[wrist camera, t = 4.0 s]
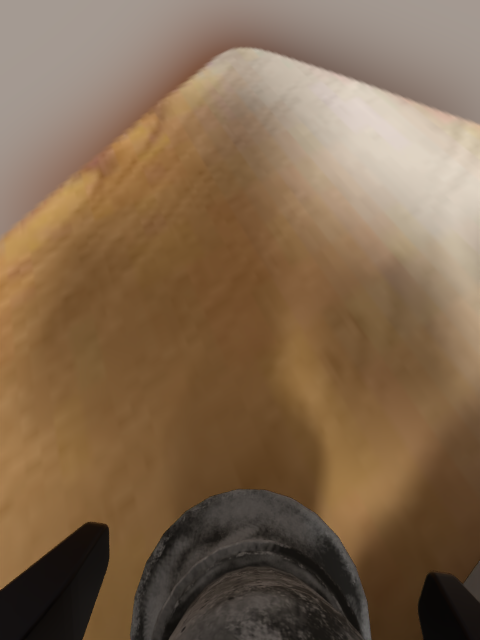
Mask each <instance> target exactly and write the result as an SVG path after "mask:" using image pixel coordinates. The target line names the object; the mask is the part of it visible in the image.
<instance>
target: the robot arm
mask: <svg viewBox="0 0 480 640" xmlns="http://www.w3.org/2000/svg"><path fill="white" fill-rule="evenodd" d="M108 562H109V528H108V525H106V524H103V523H96V522H87V523H85V524H84V525H82V526H81V527H80V528H78V529H77V530H76V531H75V532H73V533H72V534H71V535H70V536H68V537H67V538H66V539H65V540H63V541H62V542H61V543H59V544H58V545H57V546H56V547H54V548H53V549H52V550H51V551H49V552H48V553H47V554H46V555H44V556H43V557H42V558H40V559H39V560H38V561H37V562H35V563H34V564H33V565H32V566H30V567H29V568H28V569H27V570H25V571H24V572H23V573H21V574H20V575H19V576H18V577H16V578H15V579H14V580H13V581H11V582H10V583H9V584H8V585H6V586H5V587H4V588H3V589H1V590H0V640H82V639H83V636H84V633H85V630H86V628H87V625H88V622H89V619H90V616H91V613H92V610H93V607H94V605H95V602H96V599H97V596H98V593H99V590H100V587H101V584H102V582H103V579H104V576H105V573H106V570H107V567H108ZM418 615H419V621H420V625H421V630H422V635H423V640H480V602H479V601H478V600H477V599H476V598H475V597H474V596H473V595H472V594H471V592H470V591H469V590H468V589H467V588H466V587H465V586H464V585H463V584H462V583H461V582H460V581H459V580H458V579H457V578H456V577H455V576H453V575H452V574H450V573H445V572H438V571H430V572H428V573H427V575H426V578H425V582H424V585H423V588H422V591H421V595H420V598H419V602H418Z"/></svg>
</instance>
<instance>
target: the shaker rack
mask: <svg viewBox="0 0 480 640" xmlns="http://www.w3.org/2000/svg"><path fill="white" fill-rule="evenodd" d="M463 585H464V586H465V587H466V588H467V589H468V590H469V591H470V592H471V594H472V595H473V596H474V597H475V598H476V599H477V600H478V601H479V602H480V561H479V562H478V564H477V565H476V567H475V568H474V569H473V571H472V572H471V574H470V575H469V577H468V578H467V579H466V581H465V582H464V584H463Z"/></svg>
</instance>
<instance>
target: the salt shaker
mask: <svg viewBox="0 0 480 640" xmlns="http://www.w3.org/2000/svg"><path fill="white" fill-rule="evenodd" d="M130 638H131V640H371V631H370V621H369V612H368V603H367V599H366V596H365V593H364V590H363V587H362V584H361V581H360V578H359V575H358V572H357V569H356V566H355V564H354V563H353V561H352V559H351V558H350V556H349V554H348V552H347V551H346V549H345V547H344V546H343V544H342V542H341V540H340V539H339V537H338V536H337V535H336V534H335V533H334V532H333V531H332V530H331V529H330V528H329V526H328V525H327V524H326V523H325V522H324V521H323V520H322V519H321V518H320V517H319V516H318V515H317V514H316V513H314V512H313V511H311V510H310V509H308V508H307V507H305V506H303V505H302V504H300V503H299V502H297V501H296V500H294V499H292V498H290V497H287V496H283V495H280V494H277V493H274V492H271V491H267V490H251V489H237V490H233V491H229V492H225V493H222V494H218V495H214V496H211V497H209V498H207V499H206V500H204V501H202V502H201V503H199V504H197V505H196V506H194V507H192V508H191V509H189V510H187V511H186V512H185V513H184V514H183V515H182V516H181V517H180V518H179V519H178V520H177V521H176V522H175V523H174V524H173V525H172V526H171V527H170V528H169V529H168V530H167V531H166V532H165V533H164V534H163V536H162V538H161V539H160V541H159V542H158V544H157V546H156V547H155V549H154V551H153V552H152V554H151V556H150V557H149V559H148V561H147V562H146V565H145V568H144V571H143V574H142V577H141V580H140V583H139V586H138V589H137V592H136V594H135V599H134V607H133V616H132V624H131V633H130Z"/></svg>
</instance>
